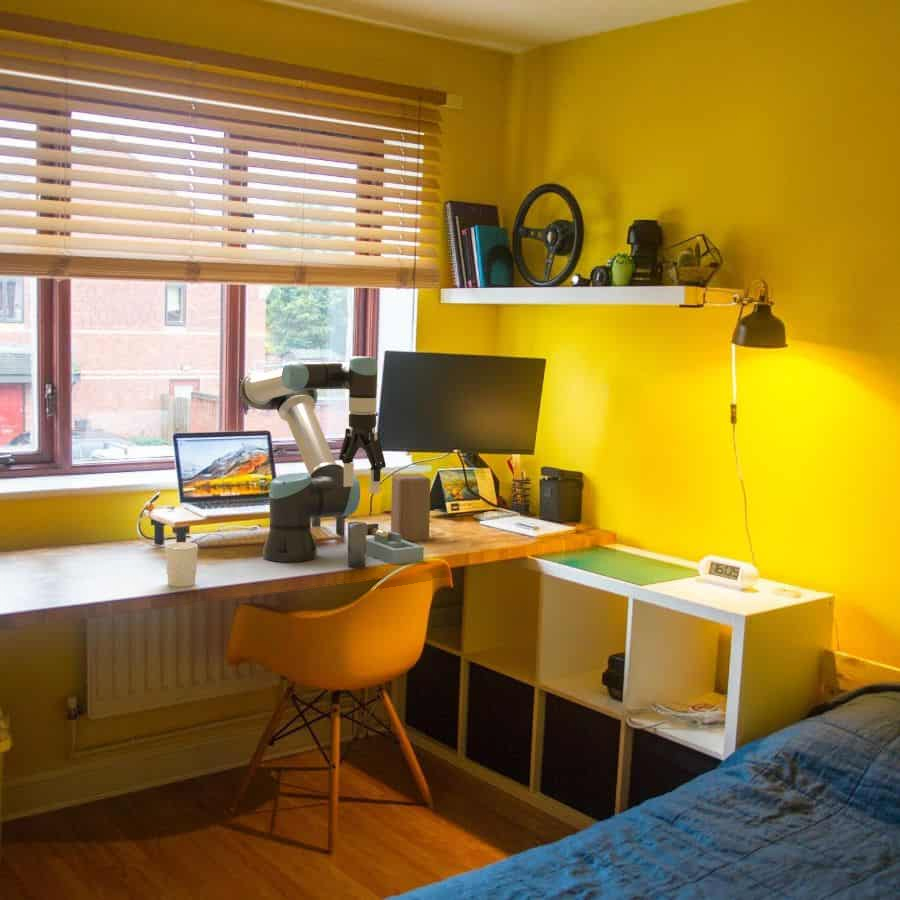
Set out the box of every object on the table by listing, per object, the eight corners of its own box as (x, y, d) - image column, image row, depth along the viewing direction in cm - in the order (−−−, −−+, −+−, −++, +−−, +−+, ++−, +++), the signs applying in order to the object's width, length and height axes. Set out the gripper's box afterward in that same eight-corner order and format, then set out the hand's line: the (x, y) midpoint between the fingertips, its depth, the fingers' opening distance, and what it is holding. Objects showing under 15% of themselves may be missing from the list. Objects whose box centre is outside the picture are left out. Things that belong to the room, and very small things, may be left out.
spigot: (353, 568, 299) (353, 525, 298) (344, 565, 303) (344, 522, 302) (369, 567, 302) (369, 524, 301) (360, 563, 306) (360, 521, 305)
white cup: (192, 579, 283) (192, 541, 282) (201, 586, 276) (201, 547, 275) (162, 582, 279) (162, 543, 278) (170, 589, 272) (169, 549, 271)
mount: (393, 564, 306) (393, 542, 305) (361, 552, 321) (361, 531, 320) (423, 560, 311) (423, 539, 311) (390, 549, 326) (391, 528, 325)
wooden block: (389, 536, 345) (391, 473, 342) (420, 535, 348) (421, 473, 346) (398, 543, 335) (400, 478, 333) (430, 541, 339) (431, 477, 336)
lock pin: (381, 541, 317) (381, 529, 317) (365, 535, 324) (365, 524, 324) (392, 540, 319) (392, 528, 319) (376, 534, 326) (376, 523, 326)
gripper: (399, 416, 292) (397, 495, 295) (350, 408, 312) (349, 482, 315) (375, 417, 288) (374, 497, 290) (327, 409, 308) (326, 484, 310)
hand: (361, 489), depth 302 cm, fingers open, 13 cm apart
